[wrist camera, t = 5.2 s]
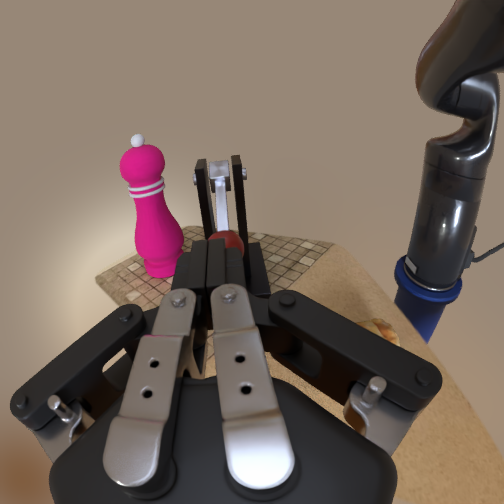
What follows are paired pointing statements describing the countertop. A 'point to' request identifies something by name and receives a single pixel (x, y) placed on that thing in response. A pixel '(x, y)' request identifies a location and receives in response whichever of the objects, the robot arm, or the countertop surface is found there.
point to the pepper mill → (151, 209)
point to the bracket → (252, 251)
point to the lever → (223, 203)
